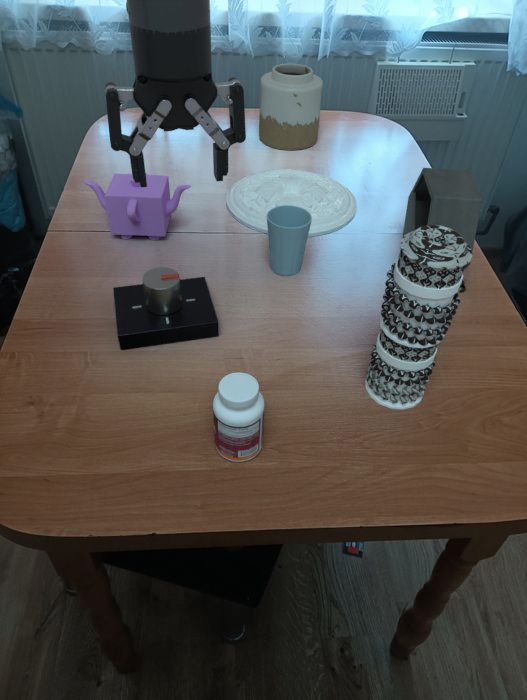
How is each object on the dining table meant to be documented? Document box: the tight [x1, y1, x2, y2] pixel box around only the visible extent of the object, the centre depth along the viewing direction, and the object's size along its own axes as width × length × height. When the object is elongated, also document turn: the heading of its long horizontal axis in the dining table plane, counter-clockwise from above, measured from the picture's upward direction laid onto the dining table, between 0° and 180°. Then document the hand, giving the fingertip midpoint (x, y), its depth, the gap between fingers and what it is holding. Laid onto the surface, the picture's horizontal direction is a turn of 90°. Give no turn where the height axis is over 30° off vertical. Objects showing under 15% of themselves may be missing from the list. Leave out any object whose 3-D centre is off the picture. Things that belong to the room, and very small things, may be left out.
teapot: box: [82, 173, 192, 241], centre depth 102 cm, size 15×13×11 cm
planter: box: [401, 167, 483, 271], centre depth 94 cm, size 17×8×21 cm
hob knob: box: [141, 266, 182, 315], centre depth 83 cm, size 6×6×5 cm
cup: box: [267, 205, 312, 277], centre depth 95 cm, size 8×8×10 cm
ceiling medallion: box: [225, 168, 358, 238], centre depth 115 cm, size 28×28×3 cm
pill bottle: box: [212, 372, 265, 463], centre depth 66 cm, size 6×6×11 cm
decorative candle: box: [364, 225, 474, 411], centre depth 69 cm, size 9×9×25 cm
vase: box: [258, 63, 324, 151], centre depth 135 cm, size 15×15×17 cm
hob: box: [112, 276, 220, 351], centre depth 86 cm, size 15×12×3 cm
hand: (181, 181), depth 61 cm, fingers open, 8 cm apart
